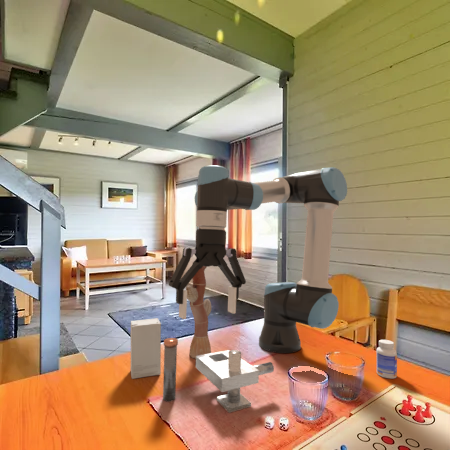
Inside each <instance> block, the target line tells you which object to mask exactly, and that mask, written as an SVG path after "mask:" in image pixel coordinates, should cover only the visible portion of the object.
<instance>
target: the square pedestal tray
mask: <svg viewBox="0 0 450 450" xmlns="http://www.w3.org/2000/svg"><path fill="white" fill-rule="evenodd" d="M195 368H196V370H197V371H199V372H200V373H201V374H202V375H203V376H204V377H205V378H206V379H207V380H208V381H210V383H211V384H212V385H213V386H215V387H216V389H218V390H219V391H220V393H225V392H227V394H223V395H219V396H216V402H218V403H219V404H220V406H221V407H223V408H224V409H225V411H227V412H228V413H234V412H236V411H240V410H244V409H246V408H250V407H252V402H251V401H249V399H248V398H247V397H245V396H244V395H243V394H242V393H241V389H242V388H244V387H248V386H251V385H257V384H259V380H260V379H259V378H260V377H259V376H261V375H262V376H263V375H265V374H267V375H268V374H271V373H273V372H274V371H275V367H274V364H273V363H272V362H271V361H269V362H264V363H260V364H255V365H252V364H250V363H248V362H247V361H246V360H245V359H243V358H242V352H241V351H240V350H237V349H231V350H230V349H227V350H221V351H216V352H211V353H209V354H204V355H198V356H196V359H195Z"/></svg>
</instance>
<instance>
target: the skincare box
mask: <svg viewBox="0 0 450 450" xmlns="http://www.w3.org/2000/svg"><path fill="white" fill-rule="evenodd" d="M161 330H162V323H161V321H160V320H159V318H157V317H156V318H148V319H138V320H130V376H131V379H132V380H133V379H139V378H146V377H152V376H159V375H160V376H161V373H162V372H161V370H162V369H161V368H162V367H161V363H162V362H161V361H162V360H161V355H162V354H161V353H162V351H161V349H162V348H161V347H162V345H161V343H162V341H161V339H162V338H161V336H162V335H161V334H162V331H161Z"/></svg>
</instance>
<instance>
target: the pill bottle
mask: <svg viewBox="0 0 450 450" xmlns="http://www.w3.org/2000/svg"><path fill="white" fill-rule="evenodd" d="M375 351H376V352H375V353H376V374H377V375H378V376H379V377H382V378H385V379H396V378H397V376H398V354H397V350H396V349H395V342H394V341H392V340H388V339H380V340H378V347H377V348H376V350H375Z"/></svg>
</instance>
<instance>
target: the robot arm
mask: <svg viewBox="0 0 450 450" xmlns="http://www.w3.org/2000/svg"><path fill="white" fill-rule="evenodd" d="M229 176H230V174H229V170H228V168H226V167H225V166H222V165H205V166H202V167H200V169H199V171H198V177H197V184H196V185H197V191H196V192H195V194H194V203H195V206H196V222H195V223H196V227H198V229H196V230H195V248H194V249H193V248H191V247H183V250H182V255H181V258H180V259H179V262H178V264H177V266H176V268H175V269H174V272H173V274H172V276H171V278H170V280H169V282H168V286H169V287H172V288H173V289H175V291H176V293H175V302H176V304H178V317H179V318H181V319H182V320H186V319H187V307H188V299H187V290H186V287H187V286H189V285H188V284H189V283H190V282H191V280H193V279H192V278H193V277H194V276H195V274H196V273H197V272H198V271H199V269H201V268H202V267H203V266H206V267H218V269H220V271H221V272H222V274H223V275H224V277H225V278H226V280H228V282H229V283H230V285H228V290H227V293H228V294H227V295H228V296H227V298H228V299H227V313H231V314H236V311H237V300H239V297H240V296H239V294H240V293H239V292H240V291H239V290H240V288H241V287H242V286H243V285H245V284H246V282H247V281H246V279H245V278H246V277H245V276H244V273H243V270H242V268H241V265H240V263H239V260H238V257H237V249H236V248H230V247H229V248H226V243H227V231H226V230H225V229H226V228H227V221H228V220H227V217H228V216H227V213H228V211H229V210H230V211H232V210H245V211H254V210H257V209H258V208H260V207H261V204H267V203H268V204H269V203H276V204H303V206H304V208H305V209H306V210H307V215H306V216H307V217H306V226H305V227H306V229H305V236H304V238H305V239H304V249H303V261H302V274H301V279H300V280H299V281H297V282H290V281H289V282H288V281H287V282H285V281H284V282H282V281H281V282H273V283H272V282H271V283H270V282H269V283H268V284H266V285H265V286H264V294H263V297H264V298H263V306H264V307H263V310H264V311H263V314H264V315H263V326H262V327H261V328H262V329H261V332H260V335H259V337H258V345H259V348H261V349H263V350H266V351H268V352H271V353H276V354H277V353H278V354H291V353H296V352H299V351H300V350H301V348H302V347H301V339H300V335H299V331H298V328H297V323H299V324H302V325H306V326H309V327H311V328H317V329H320V330H321V329H327V328H329V327H330V326H331V325H332V324H333V322H334V321H335V320H336V318H337V316H338V312H339V308H340V307H339V305H340V303H339V300H338V297H337V296H336V294H334V293H333V286H332V285H331V284H330V283H329V274H330V262H331V260H330V259H331V249H332V248H331V247H332V236H333V225H334V224H333V223H334V213H335V211H337V210H338V209H339V208H340V207H339V206H340V202H341V201H344V200H345V199H346V197H347V194H348V184H347V181H346V177H345V176H344V173H343V172H342V171H341V169H339V168H337V167H334V166H331V167H322V168H318V169H312V170H306V171H300V172H296V173H293V174H289V175H285V176H281V177H279V176H278V177H275V178H274V179H273V180H269V181H268V180H267V181H256V182H255V181H254V182H251V181H245V180H239V179H233V178H231V177H229ZM193 256H195V259H194V260H193V262H192V264H191V266H190V267H189V268H188V270H187V267H188V265H189V263H190V261H191V258H193ZM225 257H227V259H228V263H229V264H230V267H231V269H232V270H231V269H230V267H229V266H228V263H227V261H226V260H225V259H224V258H225ZM186 270H187V271H186ZM185 271H186V272H185Z"/></svg>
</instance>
